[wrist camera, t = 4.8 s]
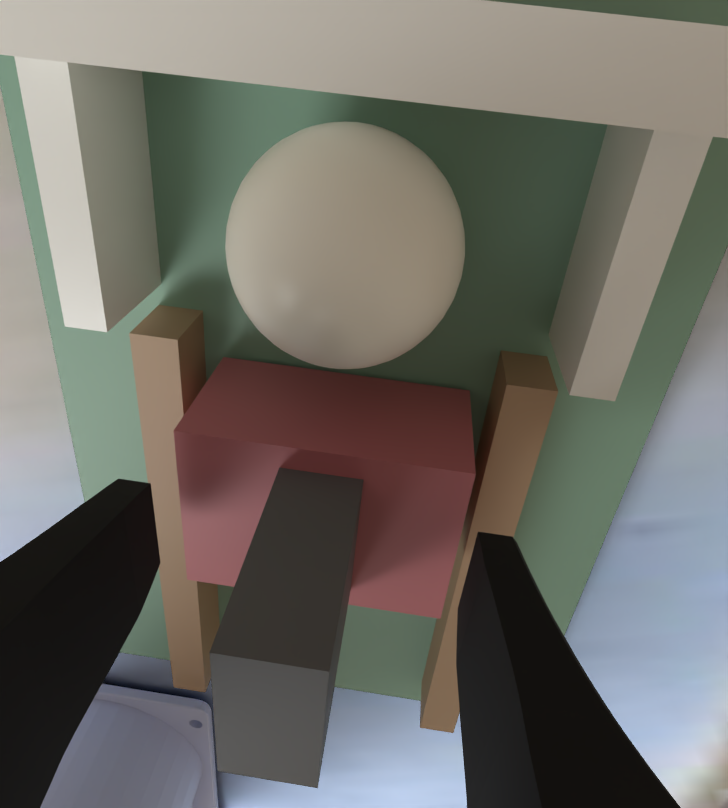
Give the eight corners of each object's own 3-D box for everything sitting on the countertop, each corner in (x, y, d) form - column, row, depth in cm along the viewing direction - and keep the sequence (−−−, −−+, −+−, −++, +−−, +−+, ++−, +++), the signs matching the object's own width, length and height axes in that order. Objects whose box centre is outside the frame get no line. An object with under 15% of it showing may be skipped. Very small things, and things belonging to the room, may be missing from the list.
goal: (586, 339, 13) (647, 471, 9) (125, 279, 13) (-4, 380, 9) (684, 35, 10) (837, 38, 6) (88, -29, 10) (-122, -64, 6)
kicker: (441, 523, 16) (439, 824, 10) (228, 491, 16) (99, 767, 10) (470, 390, 13) (490, 673, 8) (223, 356, 14) (55, 604, 8)
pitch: (526, 695, 20) (535, 765, 19) (125, 631, 21) (93, 692, 19) (814, -24, 10) (905, -37, 8) (-10, -108, 11) (-113, -139, 9)
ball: (480, 277, 7) (493, 81, 9) (164, 237, 8) (241, 53, 10) (437, 424, 11) (453, 259, 13) (221, 394, 11) (268, 236, 13)
